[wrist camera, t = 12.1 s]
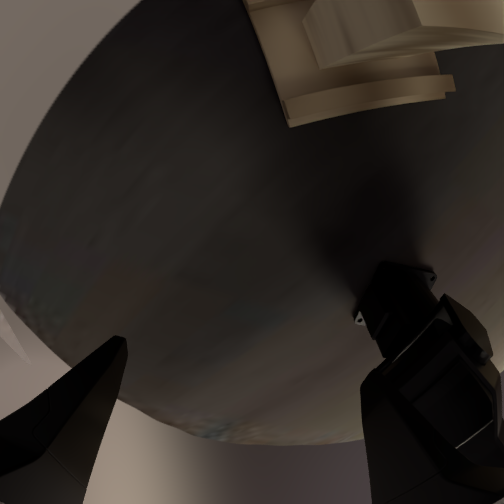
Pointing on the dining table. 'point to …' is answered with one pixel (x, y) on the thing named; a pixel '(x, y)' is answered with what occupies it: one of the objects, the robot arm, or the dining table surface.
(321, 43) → the wooden block
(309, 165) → the dining table surface
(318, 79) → the wooden tray
